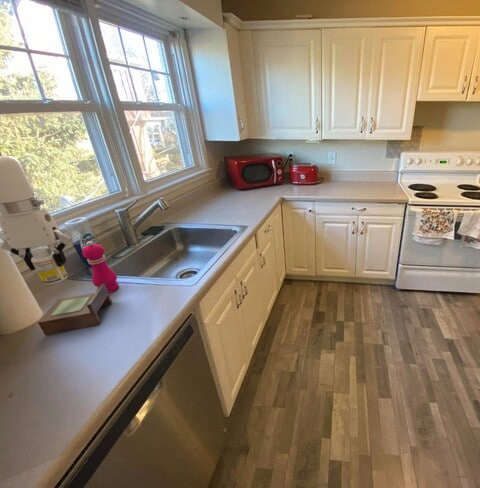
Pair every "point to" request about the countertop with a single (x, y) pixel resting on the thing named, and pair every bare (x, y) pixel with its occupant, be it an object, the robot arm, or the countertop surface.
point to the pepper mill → (100, 267)
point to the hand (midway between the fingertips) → (48, 265)
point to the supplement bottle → (47, 266)
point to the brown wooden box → (75, 312)
